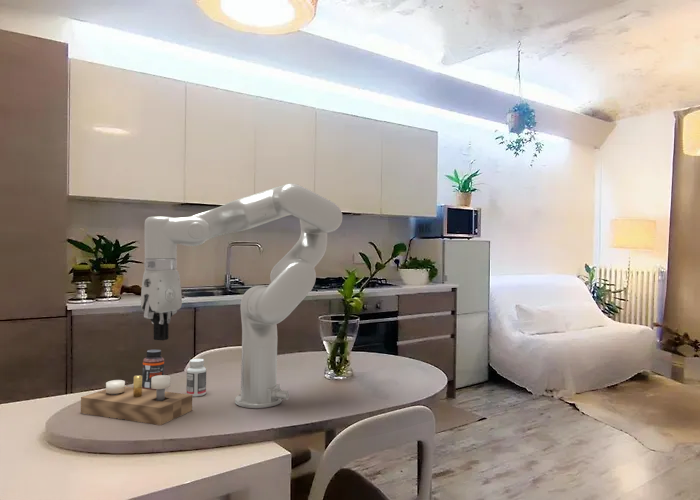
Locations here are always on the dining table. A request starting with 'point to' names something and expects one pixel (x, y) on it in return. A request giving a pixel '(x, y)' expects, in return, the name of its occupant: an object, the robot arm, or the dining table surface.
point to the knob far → (115, 387)
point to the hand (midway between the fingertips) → (161, 339)
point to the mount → (137, 406)
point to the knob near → (160, 386)
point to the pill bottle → (196, 378)
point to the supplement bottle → (152, 367)
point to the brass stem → (137, 386)
